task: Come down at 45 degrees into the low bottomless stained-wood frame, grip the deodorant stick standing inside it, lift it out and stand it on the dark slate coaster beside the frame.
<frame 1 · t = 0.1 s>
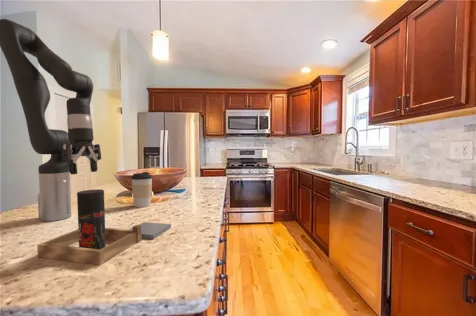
hand: (84, 172, 86), 17 cm above the countertop, tool pointing down, fingers open, 8 cm apart
deodorant: (92, 249, 62), resting in wood frame
coffee cup: (142, 205, 109), on the countertop
wood frame: (92, 248, 62), on the countertop
slate coaster: (148, 231, 74), on the countertop
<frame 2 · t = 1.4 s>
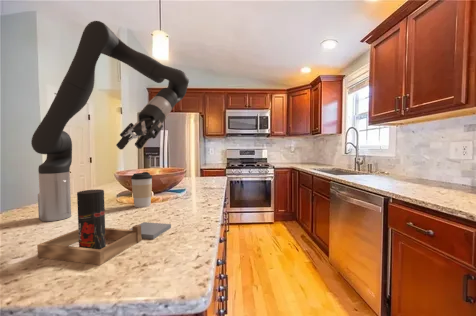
hand: (127, 147, 71), 26 cm above the countertop, tool tilted 45°, fingers open, 8 cm apart
nothing on the countertop moved.
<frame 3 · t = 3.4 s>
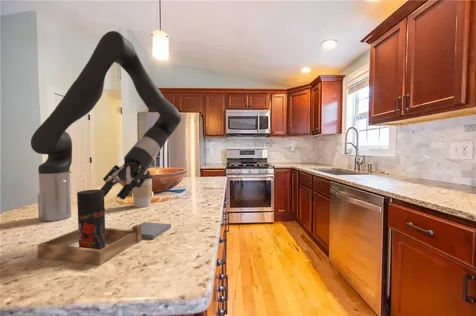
hand: (110, 196, 66), 13 cm above the countertop, tool tilted 45°, fingers open, 8 cm apart
nothing on the countertop moved.
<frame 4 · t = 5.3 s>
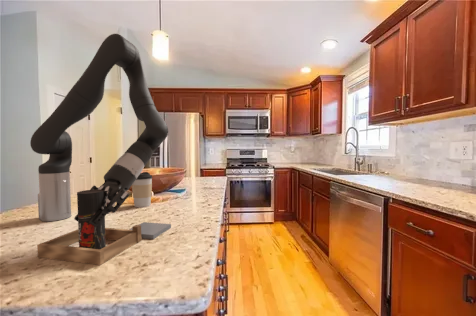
hand: (85, 222, 60), 7 cm above the countertop, tool tilted 45°, fingers closed on deodorant, 6 cm apart
deodorant: (92, 249, 62), resting in wood frame, touching gripper
everything else where it was.
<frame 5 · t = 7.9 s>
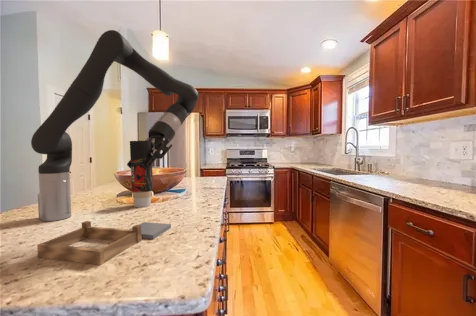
hand: (137, 167, 70), 20 cm above the countertop, tool tilted 45°, fingers closed on deodorant, 6 cm apart
deodorant: (142, 191, 72), point 13 cm above the countertop, touching gripper
everything else where it was.
when the fingers open (9 cm above the countertop, at t = 10.7 s): deodorant stays where it is, resting on slate coaster.
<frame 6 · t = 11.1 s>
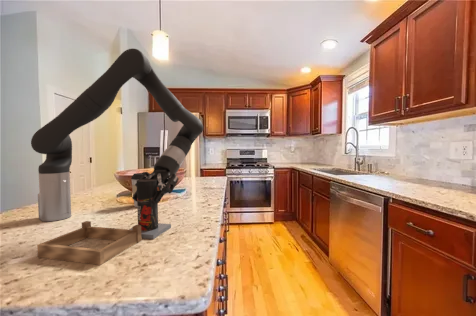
hand: (144, 201, 73), 10 cm above the countertop, tool tilted 45°, fingers open, 8 cm apart
deodorant: (148, 228, 74), point 1 cm above the countertop, touching slate coaster
everything else where it was.
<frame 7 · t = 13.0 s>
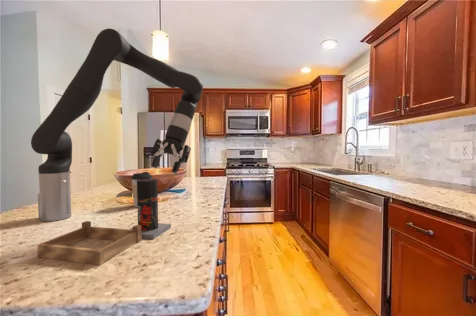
hand: (164, 169, 85), 18 cm above the countertop, tool tilted 20°, fingers open, 8 cm apart
nothing on the countertop moved.
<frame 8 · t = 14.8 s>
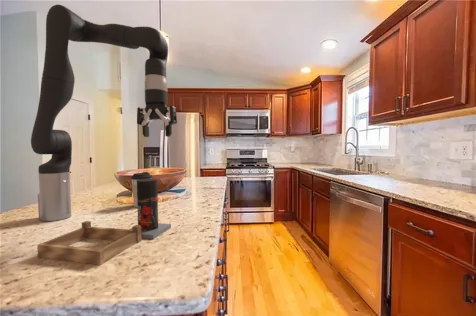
hand: (157, 136, 84), 30 cm above the countertop, tool pointing down, fingers open, 8 cm apart
nothing on the countertop moved.
at the end: deodorant 0.2 cm from the slate coaster (horizontally); deodorant tilted 0°; deodorant point 1.0 cm above the countertop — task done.
